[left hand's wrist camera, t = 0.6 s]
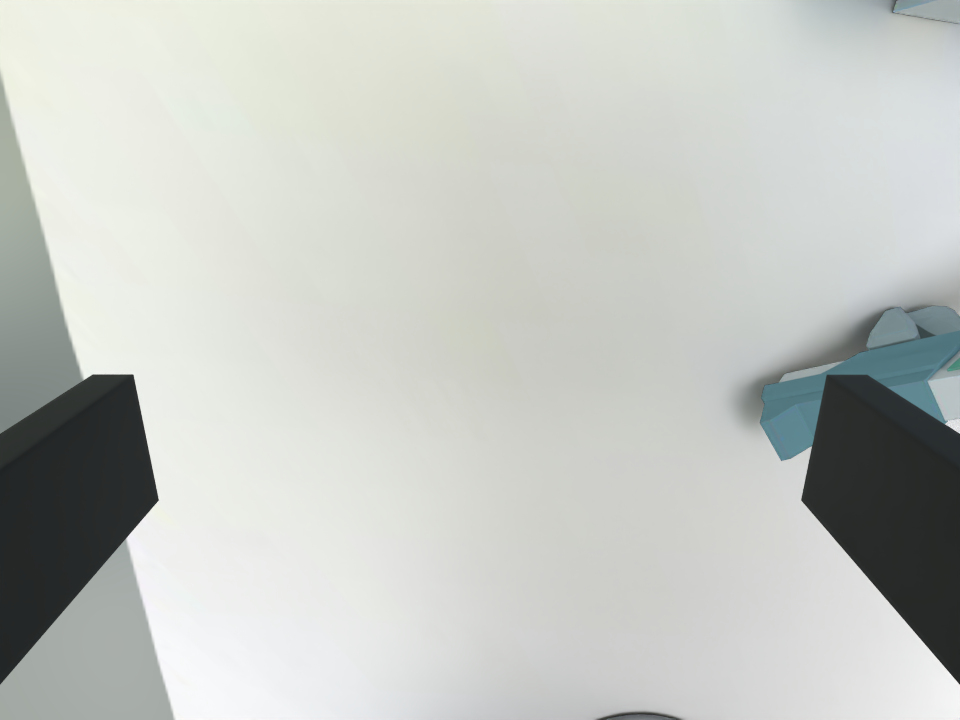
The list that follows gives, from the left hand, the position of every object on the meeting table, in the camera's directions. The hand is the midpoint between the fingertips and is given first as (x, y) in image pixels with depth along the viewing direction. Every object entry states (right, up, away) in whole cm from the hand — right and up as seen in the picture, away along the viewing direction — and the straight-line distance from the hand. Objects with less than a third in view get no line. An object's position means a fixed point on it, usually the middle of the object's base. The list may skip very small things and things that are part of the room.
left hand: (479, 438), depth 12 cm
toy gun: (+25, +3, +28) cm, 38 cm away
